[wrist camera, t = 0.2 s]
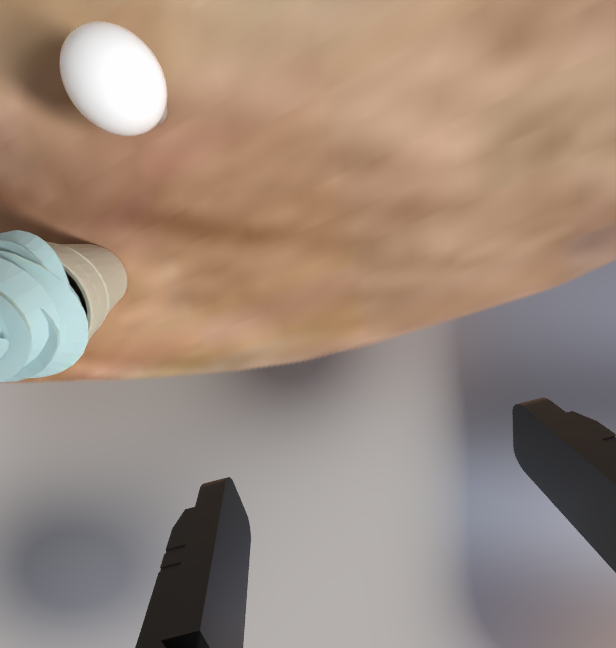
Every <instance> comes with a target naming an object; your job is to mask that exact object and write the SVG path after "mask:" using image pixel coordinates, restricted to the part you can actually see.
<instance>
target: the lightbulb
mask: <svg viewBox="0 0 616 648" xmlns="http://www.w3.org/2000/svg"><path fill="white" fill-rule="evenodd" d="M59 66H60V74H61V78H62V82H63V85H64V88H65V90H66V92H67V94H68V96H69V98H70V99H71V101H72V102H73V104H74V105H75V107H76V108H77V109H78V110H79V112H80V113H81V114H82V115H83V116H84V117H85V118H86V119H88V120H89V121H90V122H91V123H93V124H94V125H96V126H97V127H99V128H100V129H102V130H104V131H107V132H109V133H112V134H115V135H120V136H137V135H141V134H143V133H146V132H148V131H149V130H151V129H152V128H154V127H155V126H157V125H160V124H162V123H163V122H164V121H165V120H166V118H167V114H168V108H167V85H166V80H165V76H164V73H163V71H162V68H161V66H160V64H159V62H158V60H157V58H156V57H155V55H154V54H153V52H152V51H151V50H150V48H149V47H148V46H147V45H146V44H145V43H144V42H143V41H142V40H141V39H140V38H139V37H137V36H136V35H135V34H133V33H132V32H131V31H129V30H127V29H126V28H124V27H122V26H119V25H117V24H114V23H110V22H104V21H92V22H87V23H84V24H82V25H80V26H78V27H76V28H75V29H74V30H72V31H71V32H70V33H69V35H68V36H67V37H66V39H65V41H64V43H63V45H62V48H61V52H60V59H59Z"/></svg>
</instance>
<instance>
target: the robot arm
mask: <svg viewBox="0 0 616 648" xmlns="http://www.w3.org/2000/svg"><path fill="white" fill-rule="evenodd" d="M513 442H514V443H513V446H514V453H515V456H516V458H517V460H518V462H519V464H520V466H521V467H522V469H523V470H524V472H525V473H526V474H527V475H528V476H529V477H530V478H531V479H532V480H533V482H535V484H536V485H537V486H538V487H539V488H540V489H541V491H542V492H543V493H544V494H545V495H546V496H547V497H548V498H549V499H550V500H551V502H552V503H553V504H554V505H555V506H556V507H557V508H558V509H559V510H560V511H561V513H562V514H563V515H564V516H565V517H566V518H567V519H568V520H569V522H570V523H571V524H572V525H573V526H574V527H575V528H576V529H577V530H578V532H579V533H580V534H581V535H582V536H583V537H584V538H585V539H586V540H587V541H588V543H589V544H590V545H591V546H592V547H593V548H594V549H595V550H596V551H597V552H598V554H599V555H600V556H601V557H602V558H603V559H604V560H605V561H606V563H607V564H608V565H609V566H610V567H611V568H612V569H613V570H614V571H615V572H616V434H615V433H613V432H612V431H610V430H609V429H607V428H606V427H605V426H603V425H602V424H600V423H599V422H597V421H595V420H593V419H590V418H588V417H585V416H583V415H580V414H578V413H576V412H573V411H571V412H567V413H566V412H565V411H563V410H562V409H561V408H559V407H558V406H557V405H555V404H554V403H553V402H551V401H550V400H548V399H546V398H539V399H535V400H531V401H528V402H523V403H520V404H516V405H515V406H514V407H513ZM250 543H251V533H250V525H249V520H248V516H247V514H246V511H245V509H244V506H243V504H242V502H241V499H240V497H239V494H238V492H237V490H236V487H235V485H234V483H233V480H232V479H231V478H230V477H228V478H224V479H220V480H216V481H212V482H208V483H204V484H202V485H201V487H200V490H199V494H198V498H197V502H196V506H195V507H193V508H189V509H185V511H184V512H183V514H182V515H181V517H180V518H179V520H178V521H177V523H176V524H175V526H174V527H173V529H172V531H171V535H170V538H169V541H168V545H167V548H166V554H164V557H163V561H162V564H161V567H160V568H161V571H160V572H159V573H158V577H157V580H156V583H155V586H154V590H153V593H152V596H151V599H150V602H149V606H148V609H147V612H146V616H145V619H144V622H143V625H142V629H141V632H140V635H139V638H138V641H137V644H136V647H135V648H243V641H244V627H245V613H246V599H247V585H248V570H249V556H250Z"/></svg>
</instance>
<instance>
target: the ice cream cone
mask: <svg viewBox="0 0 616 648" xmlns="http://www.w3.org/2000/svg"><path fill="white" fill-rule="evenodd" d="M126 288H127V274H126V271H125V268H124V266H123V265H122V263H121V261H120V260H119V259H118V258H117V257H116V256H115V255H114V254H113V253H112V252H110V251H109V250H107V249H105V248H103V247H101V246H98V245H94V244H57V243H52V242H45V241H44V240H42V239H41V238H40V237H38V236H36V235H34V234H32V233H29V232H25V231H20V230H14V231H9V232H4V233H0V382H10V381H19V380H22V379H26V378H38V377H44V376H50V375H53V374H56V373H59V372H62V371H64V370H66V369H67V368H69V367H70V366H72V365H74V363H75V362H76V361H77V360H78V359H79V358H80V357H81V356H82V354H83V352H84V350H85V347H86V345H87V343H88V340H89V338H90V337H91V336H92V335H93V333H94V332H95V331H96V330H97V329H98V328H99V327H100V326H101V324H102V322H103V321H104V319H105V318H106V316H107V313H108V312H109V311H110V310H111V309H112V308H113V307H114V305H115V304H116V303H117V302H118V301H119V300H120V299H121V298H122V297H123V295H124V293H125V291H126Z"/></svg>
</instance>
